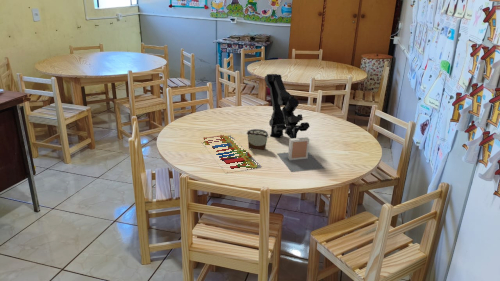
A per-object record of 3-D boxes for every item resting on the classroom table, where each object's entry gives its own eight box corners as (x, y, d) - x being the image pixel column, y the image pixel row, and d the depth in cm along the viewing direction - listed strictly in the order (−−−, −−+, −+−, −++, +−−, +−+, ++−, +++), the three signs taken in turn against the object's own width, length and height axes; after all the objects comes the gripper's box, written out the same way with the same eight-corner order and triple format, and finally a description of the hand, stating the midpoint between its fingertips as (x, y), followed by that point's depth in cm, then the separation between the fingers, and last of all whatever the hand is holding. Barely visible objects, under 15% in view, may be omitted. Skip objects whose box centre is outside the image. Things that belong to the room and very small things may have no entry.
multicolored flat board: (262, 163, 178) (225, 170, 171) (262, 168, 179) (225, 174, 172) (230, 132, 216) (199, 136, 209) (230, 136, 217) (199, 140, 210)
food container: (270, 147, 202) (271, 130, 198) (267, 151, 197) (268, 134, 193) (249, 143, 206) (250, 127, 202) (246, 147, 200) (246, 131, 197)
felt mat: (276, 154, 194) (276, 153, 194) (307, 151, 199) (307, 150, 199) (291, 172, 175) (291, 172, 174) (325, 169, 179) (325, 168, 179)
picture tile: (287, 158, 189) (289, 138, 185) (305, 156, 192) (307, 137, 187) (289, 160, 187) (291, 140, 182) (307, 158, 189) (309, 139, 185)
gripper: (276, 110, 187) (282, 137, 182) (309, 108, 192) (316, 134, 187) (271, 119, 197) (276, 145, 192) (302, 117, 202) (309, 143, 197)
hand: (294, 142), depth 191 cm, fingers closed
